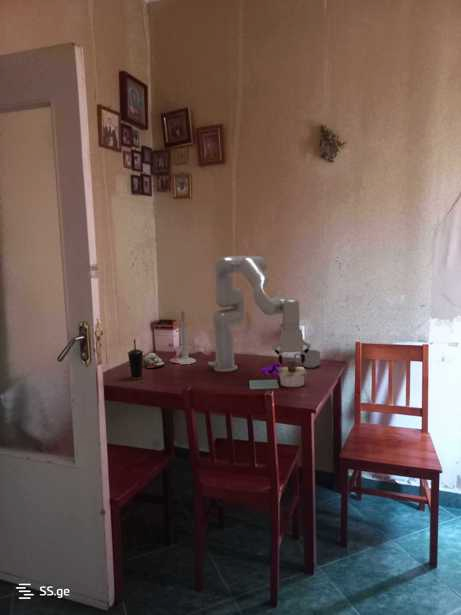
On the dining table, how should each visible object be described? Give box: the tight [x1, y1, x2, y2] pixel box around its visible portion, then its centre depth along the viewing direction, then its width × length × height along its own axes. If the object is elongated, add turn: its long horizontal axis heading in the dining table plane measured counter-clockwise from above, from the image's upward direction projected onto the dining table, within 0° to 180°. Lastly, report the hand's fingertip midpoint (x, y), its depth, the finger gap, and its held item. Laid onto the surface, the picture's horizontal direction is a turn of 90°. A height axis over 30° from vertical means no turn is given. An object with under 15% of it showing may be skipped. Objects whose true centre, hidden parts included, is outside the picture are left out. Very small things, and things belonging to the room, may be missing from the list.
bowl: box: [279, 376, 305, 388], centre depth 211 cm, size 10×10×6 cm
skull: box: [143, 352, 165, 367], centre depth 255 cm, size 12×10×10 cm
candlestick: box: [176, 310, 197, 364], centre depth 258 cm, size 13×13×30 cm
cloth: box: [259, 362, 281, 377], centre depth 231 cm, size 22×19×6 cm
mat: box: [248, 379, 280, 390], centre depth 212 cm, size 13×13×1 cm
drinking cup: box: [127, 339, 144, 379], centre depth 231 cm, size 8×8×20 cm
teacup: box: [293, 348, 322, 369], centre depth 242 cm, size 14×11×8 cm
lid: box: [278, 360, 308, 377], centre depth 210 cm, size 12×12×5 cm
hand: (291, 363), depth 210 cm, fingers open, 9 cm apart
